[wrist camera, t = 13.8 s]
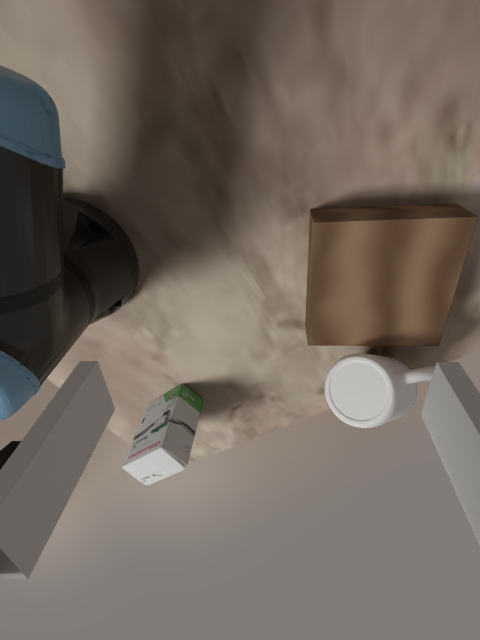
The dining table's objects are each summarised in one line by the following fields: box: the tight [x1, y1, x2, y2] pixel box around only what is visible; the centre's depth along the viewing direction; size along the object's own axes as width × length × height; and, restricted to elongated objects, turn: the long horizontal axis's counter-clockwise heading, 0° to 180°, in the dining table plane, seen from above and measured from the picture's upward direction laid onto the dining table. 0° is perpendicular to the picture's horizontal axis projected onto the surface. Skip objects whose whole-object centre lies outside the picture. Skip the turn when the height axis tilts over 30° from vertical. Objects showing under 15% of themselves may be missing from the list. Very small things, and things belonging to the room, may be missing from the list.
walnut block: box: [305, 204, 477, 346], centre depth 40 cm, size 15×15×5 cm
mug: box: [325, 354, 435, 428], centre depth 42 cm, size 12×8×10 cm
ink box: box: [122, 384, 203, 485], centre depth 52 cm, size 9×5×12 cm, turn 130°
